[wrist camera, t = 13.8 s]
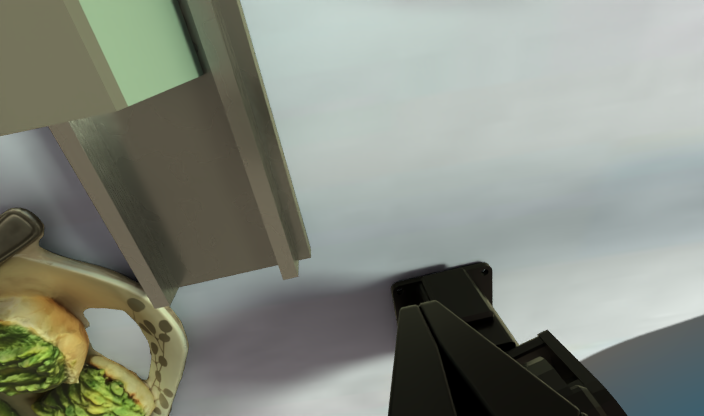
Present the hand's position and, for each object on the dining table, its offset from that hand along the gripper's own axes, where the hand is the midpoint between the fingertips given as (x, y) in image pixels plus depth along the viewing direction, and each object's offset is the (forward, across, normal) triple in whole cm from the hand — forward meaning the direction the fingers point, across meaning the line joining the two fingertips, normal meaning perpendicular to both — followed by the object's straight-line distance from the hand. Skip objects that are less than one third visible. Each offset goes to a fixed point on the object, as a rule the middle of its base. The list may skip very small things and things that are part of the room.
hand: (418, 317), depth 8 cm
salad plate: (+13, +22, +9) cm, 27 cm away
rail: (+12, +8, -4) cm, 15 cm away
